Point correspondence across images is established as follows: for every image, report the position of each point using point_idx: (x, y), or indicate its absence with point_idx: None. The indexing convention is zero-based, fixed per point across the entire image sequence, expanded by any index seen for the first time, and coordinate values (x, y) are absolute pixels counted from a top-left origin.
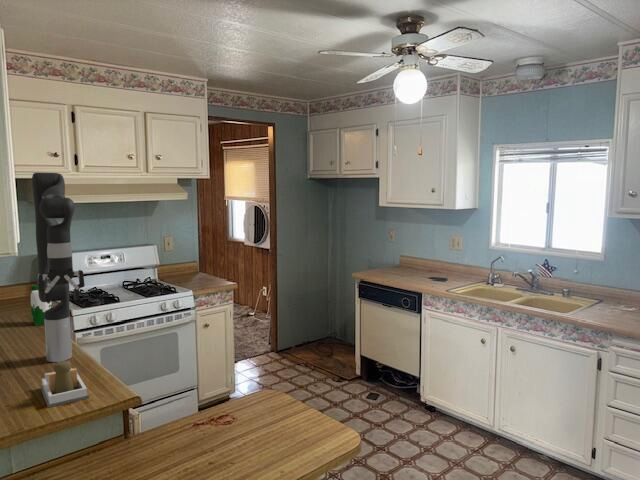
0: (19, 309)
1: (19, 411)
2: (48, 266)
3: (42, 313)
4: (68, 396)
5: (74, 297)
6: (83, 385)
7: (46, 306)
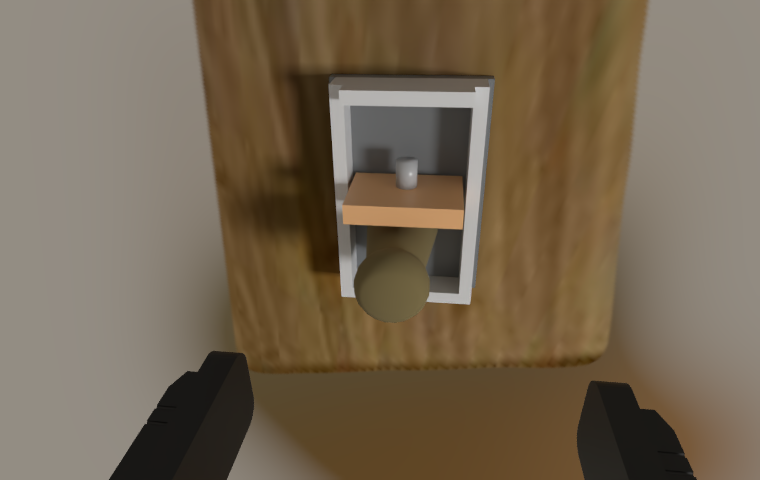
0: None
1: (261, 248)
2: None
3: None
4: None
5: (594, 422)
6: (467, 272)
7: None
